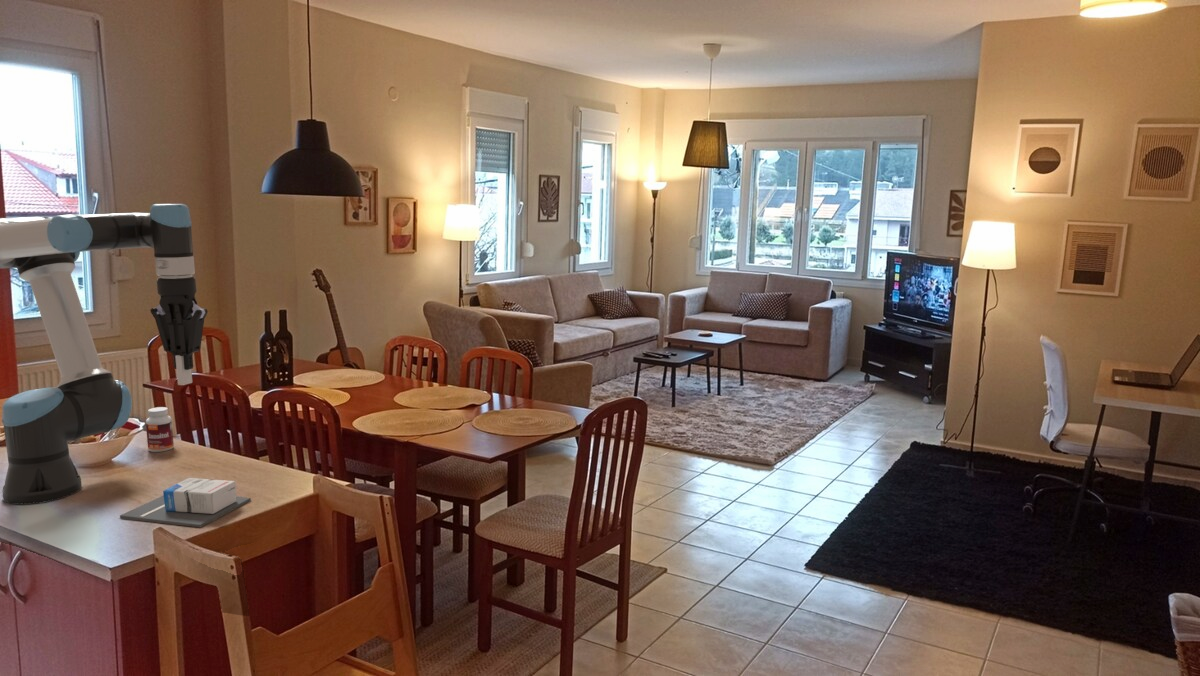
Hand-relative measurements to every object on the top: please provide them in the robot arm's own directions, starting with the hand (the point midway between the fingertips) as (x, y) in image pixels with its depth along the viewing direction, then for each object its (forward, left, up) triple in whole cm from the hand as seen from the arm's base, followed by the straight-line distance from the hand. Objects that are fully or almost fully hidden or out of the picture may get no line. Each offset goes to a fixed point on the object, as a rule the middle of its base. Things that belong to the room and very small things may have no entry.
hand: (185, 383), depth 188 cm
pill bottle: (-35, +29, -27) cm, 53 cm away
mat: (+3, -6, -26) cm, 27 cm away
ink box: (0, -6, -23) cm, 24 cm away
